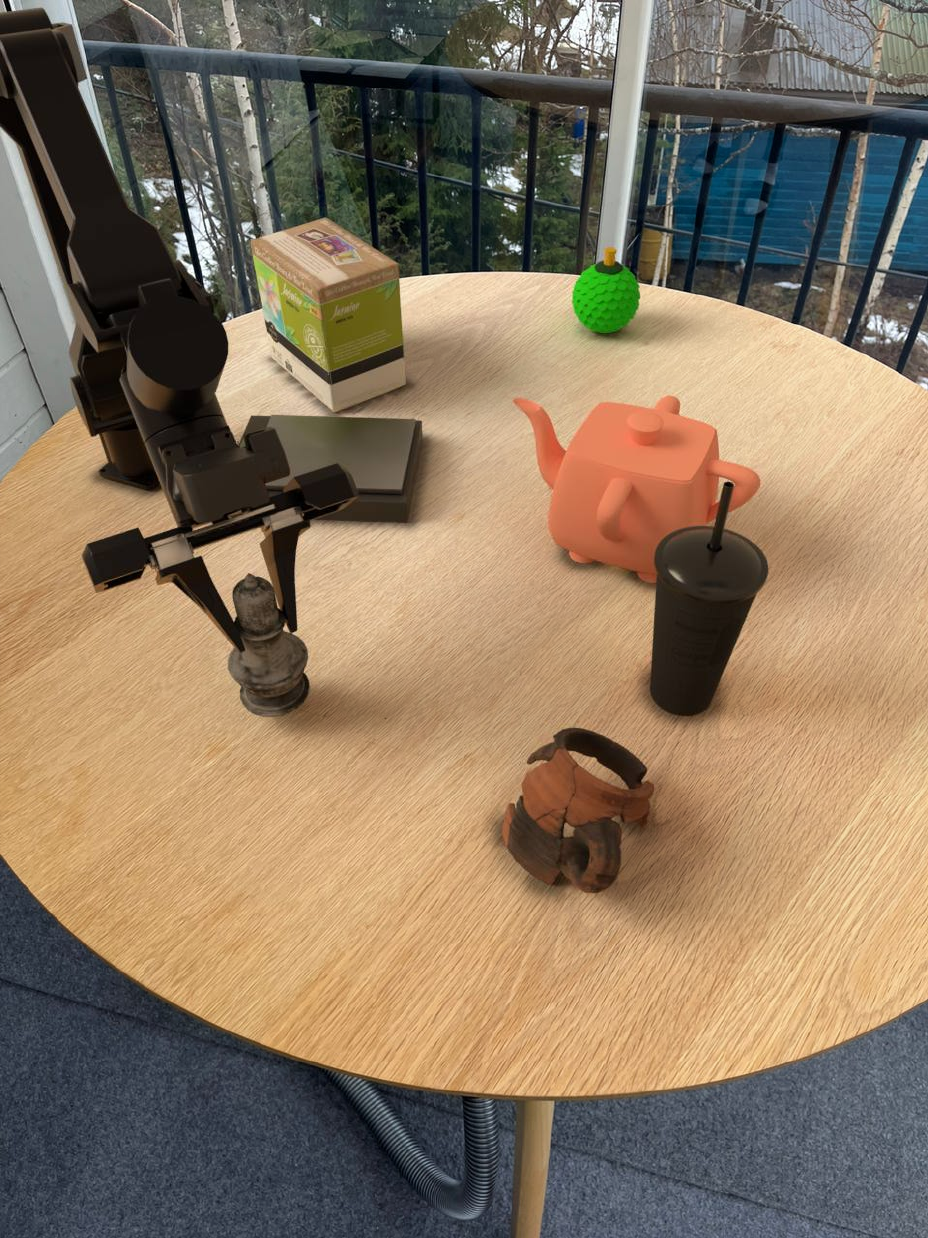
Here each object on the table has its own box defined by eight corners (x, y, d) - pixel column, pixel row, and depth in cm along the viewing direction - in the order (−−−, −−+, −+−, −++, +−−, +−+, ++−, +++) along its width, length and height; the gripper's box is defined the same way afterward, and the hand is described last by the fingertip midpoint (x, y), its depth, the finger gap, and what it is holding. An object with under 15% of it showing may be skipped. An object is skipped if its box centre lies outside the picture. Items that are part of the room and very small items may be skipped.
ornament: (581, 309, 119) (588, 230, 112) (643, 321, 117) (654, 241, 110) (560, 338, 114) (566, 257, 107) (625, 351, 112) (635, 269, 105)
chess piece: (299, 726, 69) (275, 609, 61) (224, 713, 70) (190, 597, 61) (323, 667, 73) (304, 550, 65) (252, 656, 74) (224, 539, 65)
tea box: (268, 360, 111) (246, 235, 101) (340, 335, 115) (327, 213, 105) (333, 416, 102) (316, 285, 92) (409, 386, 107) (402, 258, 96)
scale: (221, 516, 90) (215, 494, 88) (254, 434, 100) (250, 413, 98) (407, 523, 89) (406, 500, 87) (422, 439, 99) (421, 418, 97)
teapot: (747, 571, 83) (781, 447, 74) (590, 621, 79) (605, 495, 70) (650, 471, 95) (669, 351, 85) (508, 509, 90) (511, 388, 81)
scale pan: (244, 488, 89) (243, 483, 88) (272, 419, 97) (271, 414, 97) (402, 494, 88) (401, 489, 87) (415, 423, 96) (415, 418, 96)
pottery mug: (478, 799, 67) (526, 706, 64) (591, 822, 70) (641, 735, 67) (521, 926, 57) (581, 823, 54) (651, 947, 60) (714, 850, 57)
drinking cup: (736, 669, 75) (796, 462, 61) (723, 741, 70) (785, 532, 56) (642, 647, 77) (678, 441, 63) (622, 716, 72) (657, 508, 58)
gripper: (38, 442, 54) (139, 693, 55) (334, 359, 61) (420, 585, 62) (50, 481, 65) (135, 692, 66) (302, 407, 71) (376, 599, 72)
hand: (268, 642), depth 66 cm, fingers closed on chess piece, 3 cm apart
